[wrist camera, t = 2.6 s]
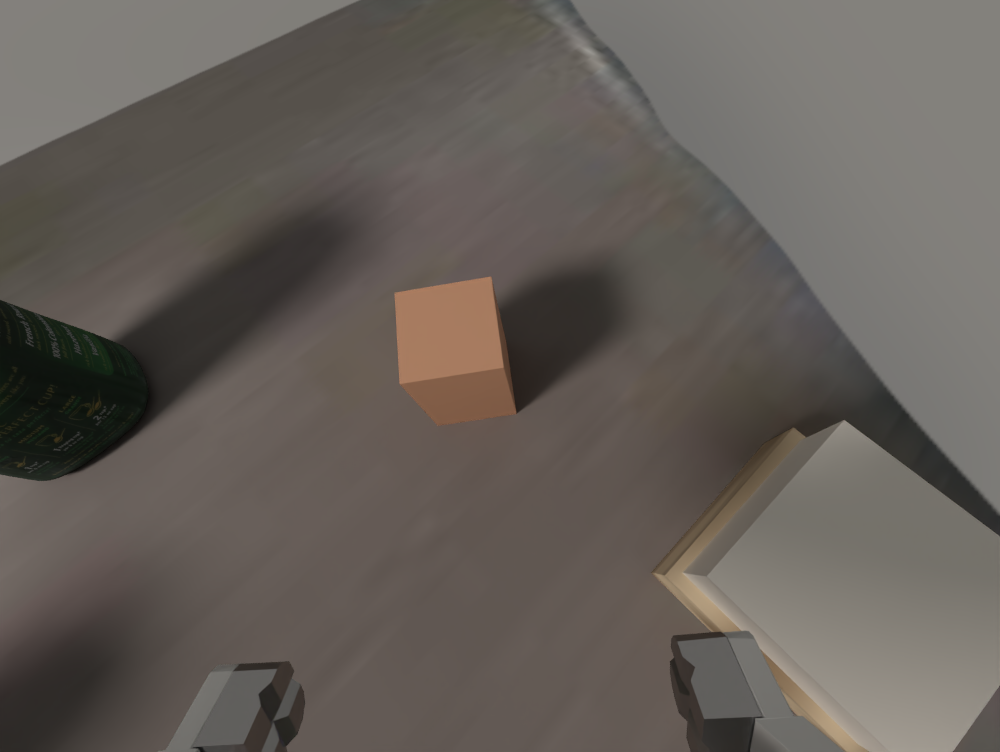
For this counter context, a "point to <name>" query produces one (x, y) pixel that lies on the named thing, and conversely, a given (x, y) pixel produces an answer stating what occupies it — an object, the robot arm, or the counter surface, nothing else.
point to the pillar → (454, 351)
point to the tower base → (706, 609)
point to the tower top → (864, 592)
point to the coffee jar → (61, 394)
